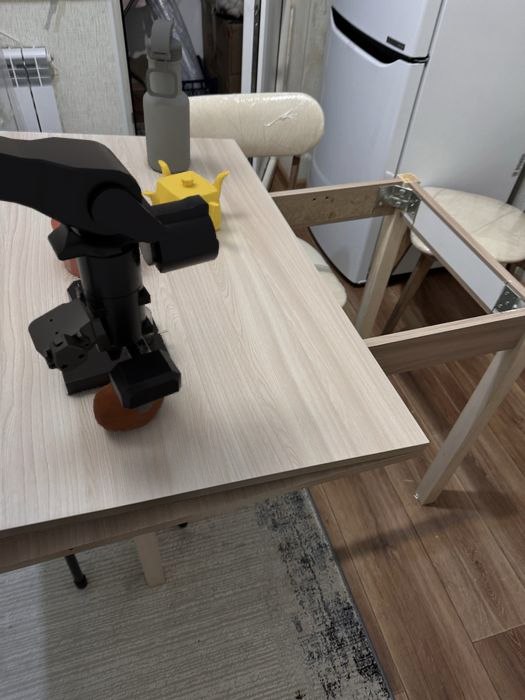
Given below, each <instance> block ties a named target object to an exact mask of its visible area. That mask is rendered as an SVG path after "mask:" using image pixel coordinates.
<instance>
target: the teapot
mask: <svg viewBox="0 0 525 700" xmlns="http://www.w3.org/2000/svg"><path fill="white" fill-rule="evenodd" d="M158 162H159V164H160V166H161V169H162V172H161V174H162V177H160V178H158V179H156V186H155V192H154V191H153V190H152V191H151V190H145V191H141V192H142V196H146V197H147V198H149V199H150V201H151V206H152V205H157V204H162V203H167V202H172V201H177V200H181V199H184V198H186V197H189V196H193V195H198V194H199V195H200V196H201V197H202V198H203V199H204V200H205V201H206V202H207V203H208V204H209V215H210V217H211V219H212V221H213V224H214V227H215V231H218V230H219V229H220V227H221V223H222V211H221V200H220V198H221V192H222V185H223V182H224V180H225V178H226V177H227V176H228V175H229V174H230V170H224V171H221V172H219V174H218V175H217V176H216V177H215V179H214V181H213V184H211V182H209V181H208V180H207V179H206V178H204V177H203V176H202V175H200V174H198V173H196V172H195V171H193V170H189V171H182V172H178V173H173V174H172V173H170V170H169V168H168V166H167V164H166V163H165V162H164V161H162V160H159V161H158Z"/></svg>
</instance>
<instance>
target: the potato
mask: <svg viewBox="0 0 525 700" xmlns="http://www.w3.org/2000/svg"><path fill="white" fill-rule="evenodd" d="M165 398H166V397H163V398H160V399H158V400H155V402H154V403H153V404H152V406H151V407H150V408H149V410H148V411H146V412H144V413H141V414H139V413H138V411H137V409H136V408H134V409H132V410H130V409H126V408H123V406H122V404H121V402H120V400H119V398H118V396H117V394H116V392H115V390H114V388H113V386H112V382H111V383H110V384H108V385H106V386H103V387H100V388H99V389H98V390H97V391H96V392H95V394H94V396H93V403H92V408H93V414H94V419H95V421H96V423H97V424H98V425H99V426H100V427H102V428H103V429H104V430H106V431H111V432H126V431H131V430H134V429H137V428H140V427H144V426H146V425H147V424H149V423H150V422H152V420H153V419H155V417H156V416H157V415H158V413H159V412H160V410H161V408H162V405H163V403H164V401H165Z"/></svg>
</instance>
